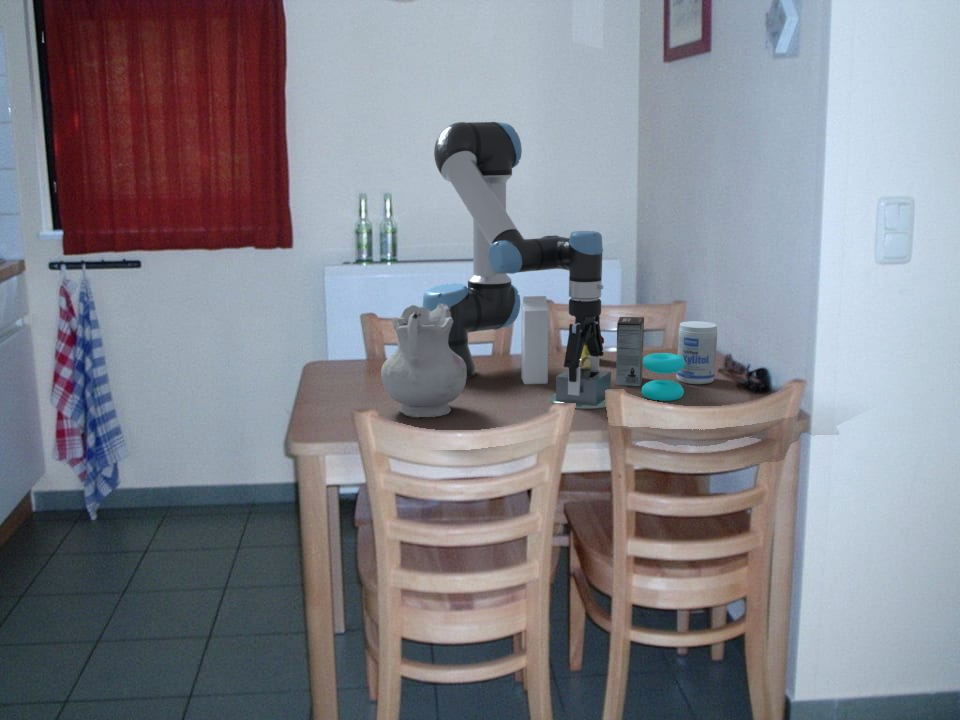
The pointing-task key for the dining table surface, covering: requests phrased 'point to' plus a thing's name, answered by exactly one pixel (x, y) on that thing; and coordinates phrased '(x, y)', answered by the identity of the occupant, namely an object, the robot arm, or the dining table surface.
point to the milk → (534, 340)
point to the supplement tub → (697, 352)
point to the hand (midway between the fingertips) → (583, 388)
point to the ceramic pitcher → (424, 363)
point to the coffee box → (629, 351)
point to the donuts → (665, 365)
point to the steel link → (584, 388)
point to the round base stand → (584, 372)
